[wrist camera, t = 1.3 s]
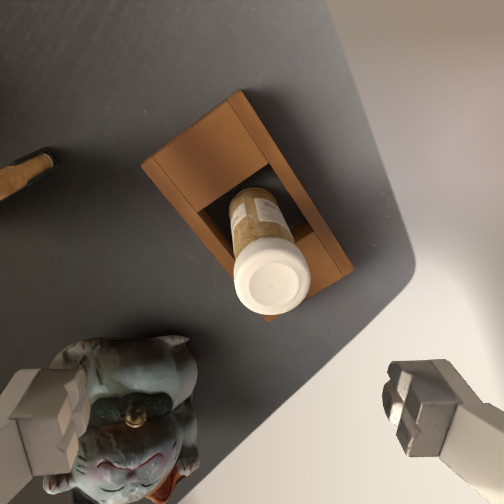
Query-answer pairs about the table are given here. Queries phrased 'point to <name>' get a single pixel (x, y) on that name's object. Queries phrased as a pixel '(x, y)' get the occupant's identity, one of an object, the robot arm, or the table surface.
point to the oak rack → (230, 175)
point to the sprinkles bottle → (265, 255)
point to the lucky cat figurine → (132, 420)
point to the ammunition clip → (25, 172)
